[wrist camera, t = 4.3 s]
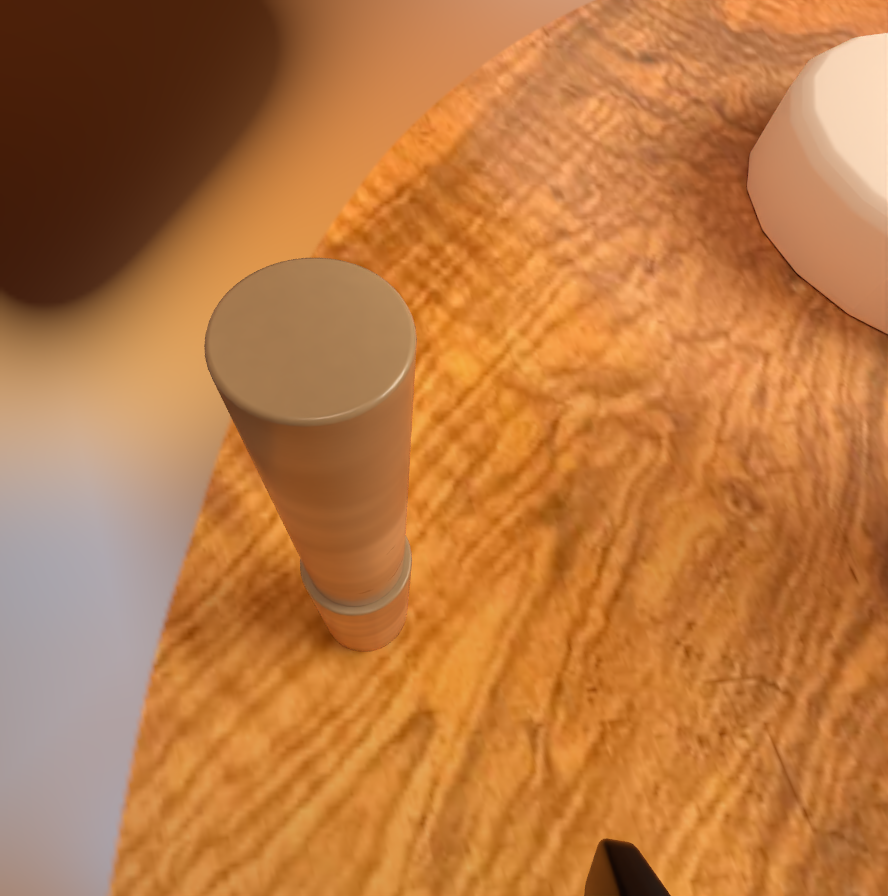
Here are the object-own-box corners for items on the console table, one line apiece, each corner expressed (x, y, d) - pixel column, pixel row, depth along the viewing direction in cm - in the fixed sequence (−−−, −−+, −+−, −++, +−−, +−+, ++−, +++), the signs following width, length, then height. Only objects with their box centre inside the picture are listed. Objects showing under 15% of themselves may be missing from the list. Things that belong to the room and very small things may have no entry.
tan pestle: (341, 666, 19) (221, 478, 6) (313, 587, 20) (158, 277, 7) (419, 630, 20) (474, 390, 6) (388, 556, 21) (380, 221, 8)
